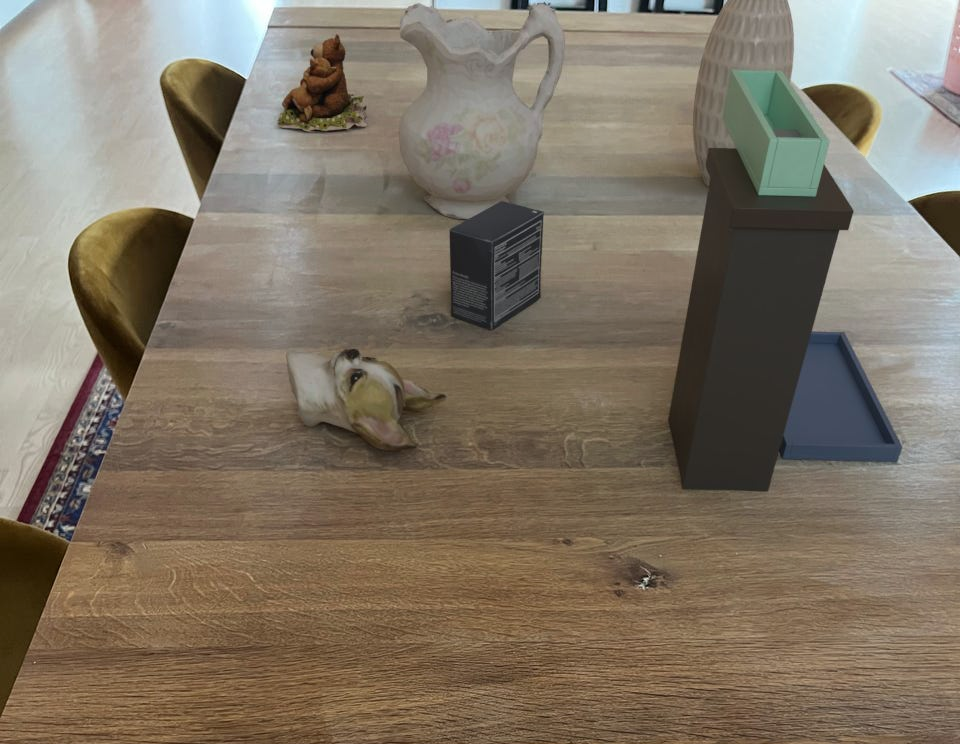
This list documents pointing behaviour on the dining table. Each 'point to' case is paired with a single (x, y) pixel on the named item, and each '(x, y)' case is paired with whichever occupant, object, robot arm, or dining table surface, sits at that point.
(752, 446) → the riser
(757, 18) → the vase
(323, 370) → the ceramic sculpture
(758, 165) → the slim bin
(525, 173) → the ceramic pitcher
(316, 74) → the bear figurine
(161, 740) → the dining table surface
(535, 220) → the small box
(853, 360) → the tray
